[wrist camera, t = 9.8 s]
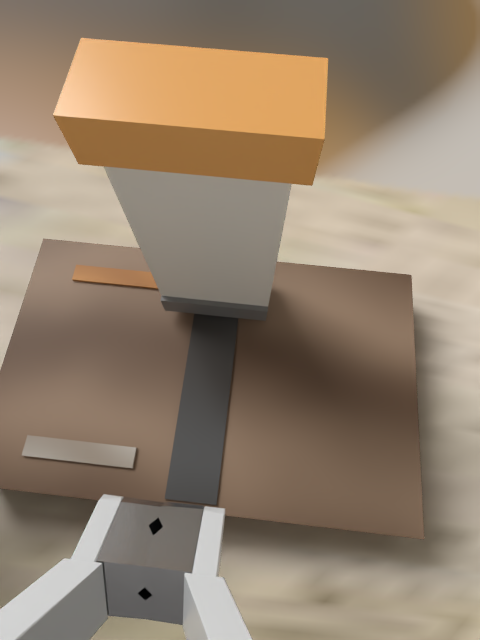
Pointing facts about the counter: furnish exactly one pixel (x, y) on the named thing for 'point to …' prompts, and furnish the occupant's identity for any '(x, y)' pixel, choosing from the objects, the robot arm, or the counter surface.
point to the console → (216, 394)
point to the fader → (199, 158)
